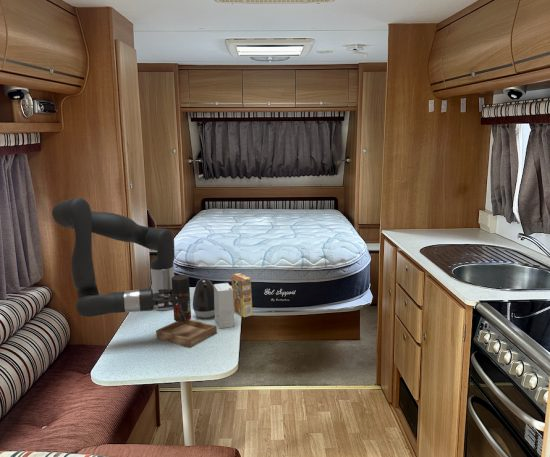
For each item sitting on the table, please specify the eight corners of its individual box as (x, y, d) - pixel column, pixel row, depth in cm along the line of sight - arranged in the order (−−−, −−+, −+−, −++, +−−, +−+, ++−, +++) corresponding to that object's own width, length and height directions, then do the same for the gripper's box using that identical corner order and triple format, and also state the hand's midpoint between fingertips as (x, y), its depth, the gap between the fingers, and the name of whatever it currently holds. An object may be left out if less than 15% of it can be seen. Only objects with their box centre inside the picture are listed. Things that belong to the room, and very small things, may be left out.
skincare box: (214, 321, 193) (212, 284, 190) (230, 319, 195) (227, 281, 192) (219, 329, 185) (217, 290, 183) (235, 326, 187) (233, 288, 184)
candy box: (253, 315, 198) (251, 277, 195) (243, 317, 196) (241, 279, 193) (241, 309, 205) (239, 272, 202) (232, 311, 203) (230, 274, 200)
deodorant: (176, 315, 182) (173, 275, 179) (192, 315, 182) (190, 274, 179) (172, 321, 176) (169, 280, 173) (189, 321, 176) (186, 279, 173)
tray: (156, 337, 180) (155, 330, 180) (184, 324, 191) (184, 317, 191) (189, 347, 171) (188, 339, 170) (216, 333, 182) (216, 325, 182)
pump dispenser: (195, 322, 193) (192, 284, 190) (191, 313, 203) (189, 276, 200) (221, 318, 196) (219, 280, 193) (217, 309, 206) (214, 273, 203)
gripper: (137, 296, 167) (188, 292, 170) (139, 284, 181) (187, 280, 184) (138, 318, 168) (190, 313, 172) (140, 304, 182) (188, 299, 185)
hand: (188, 296), depth 178 cm, fingers closed on deodorant, 6 cm apart
